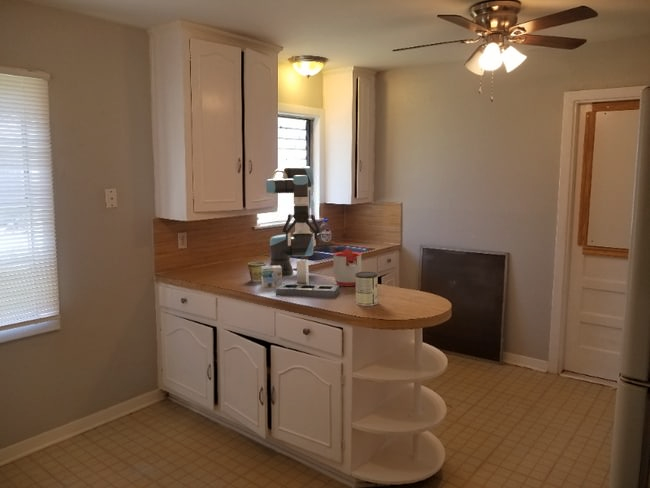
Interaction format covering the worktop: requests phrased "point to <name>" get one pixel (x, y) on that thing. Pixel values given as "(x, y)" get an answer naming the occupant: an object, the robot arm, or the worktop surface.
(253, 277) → the ceramic cup
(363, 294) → the coffee can
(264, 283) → the light bulb box
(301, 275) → the beige square block
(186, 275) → the worktop surface
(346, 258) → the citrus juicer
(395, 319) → the worktop surface
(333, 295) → the grey flat slotted block
